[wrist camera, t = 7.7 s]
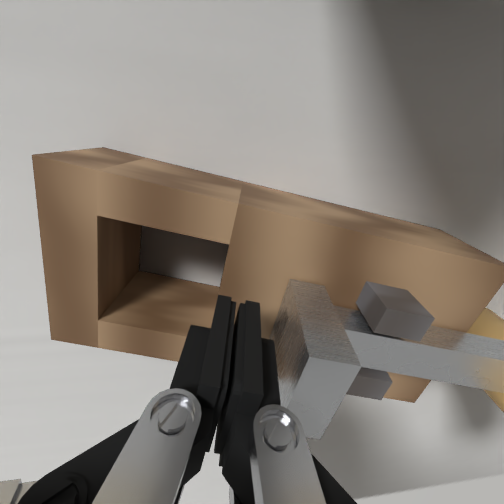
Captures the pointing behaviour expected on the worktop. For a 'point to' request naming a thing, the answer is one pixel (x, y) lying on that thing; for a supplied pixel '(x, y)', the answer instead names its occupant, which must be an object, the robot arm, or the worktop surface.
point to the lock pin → (364, 355)
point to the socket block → (238, 259)
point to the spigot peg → (492, 328)
